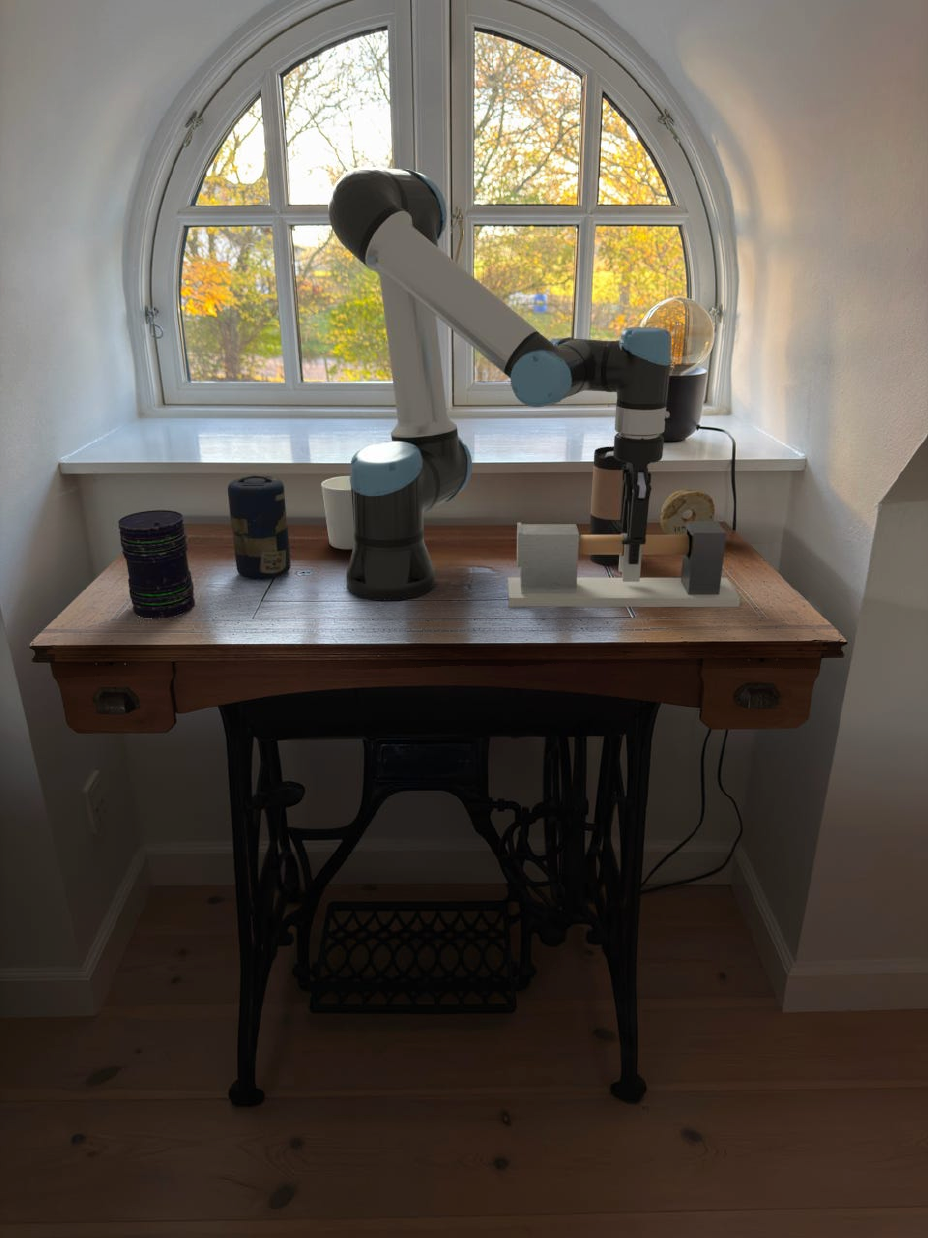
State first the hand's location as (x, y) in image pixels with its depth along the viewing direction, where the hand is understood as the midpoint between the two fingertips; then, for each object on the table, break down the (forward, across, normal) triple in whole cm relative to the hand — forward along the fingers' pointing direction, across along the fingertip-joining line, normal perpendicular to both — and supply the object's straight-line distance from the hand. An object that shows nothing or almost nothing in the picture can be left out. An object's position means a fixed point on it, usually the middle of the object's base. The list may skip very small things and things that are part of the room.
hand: (628, 575), depth 146 cm
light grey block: (+2, 0, +14) cm, 14 cm away
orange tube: (-4, 0, +2) cm, 4 cm away
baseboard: (+4, 0, +1) cm, 4 cm away
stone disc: (+4, +29, -15) cm, 33 cm away
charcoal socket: (+2, 0, -12) cm, 12 cm away
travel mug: (+4, +18, +1) cm, 18 cm away
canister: (+4, +10, +63) cm, 64 cm away
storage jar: (+4, -5, +76) cm, 76 cm away
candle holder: (+4, +27, +50) cm, 57 cm away
